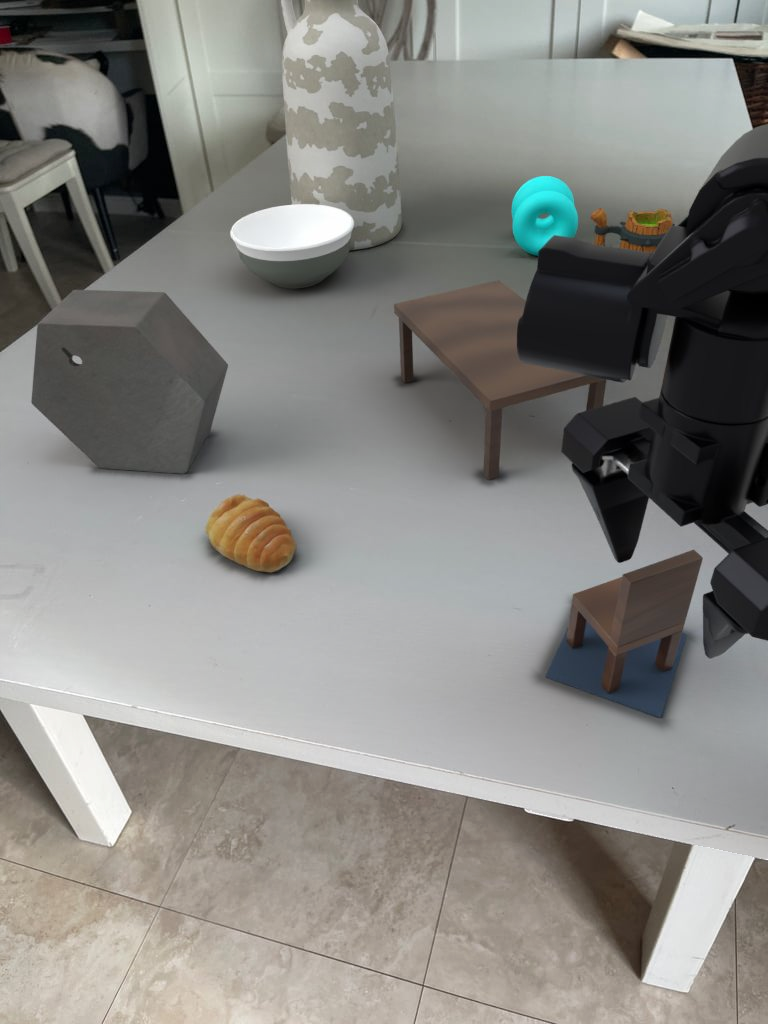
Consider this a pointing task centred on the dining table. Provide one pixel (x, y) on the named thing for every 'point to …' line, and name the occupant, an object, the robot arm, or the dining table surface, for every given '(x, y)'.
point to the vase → (341, 117)
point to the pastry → (251, 534)
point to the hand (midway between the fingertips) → (665, 604)
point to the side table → (484, 353)
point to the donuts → (538, 200)
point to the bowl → (294, 243)
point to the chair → (637, 612)
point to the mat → (639, 676)
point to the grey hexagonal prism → (127, 379)
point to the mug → (635, 229)
